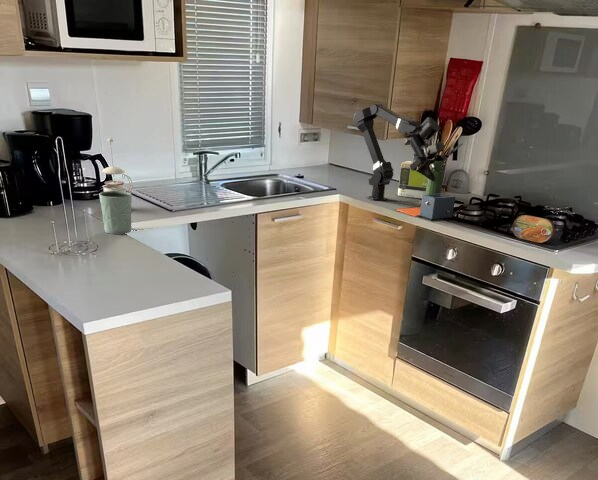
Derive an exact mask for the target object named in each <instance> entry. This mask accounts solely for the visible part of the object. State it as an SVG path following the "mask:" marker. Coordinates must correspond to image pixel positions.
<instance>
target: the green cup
mask: <svg viewBox="0 0 598 480" xmlns="http://www.w3.org/2000/svg"><path fill="white" fill-rule="evenodd" d="M98 197H99V201H100V208H101V213H102V222H103V228H104V232H105V233H107V234H112V235H125V234H128V233H131V232H132V202H133V200H132V199H133V194H132V192H130V193H129V191H126V192H122V191H106V192H105V191H101V192H100V193H99V194H98Z"/></svg>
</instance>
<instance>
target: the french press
mask: <svg viewBox="0 0 598 480" xmlns="http://www.w3.org/2000/svg"><path fill="white" fill-rule="evenodd" d="M108 142H109V143H110V145H112V143H114V139H113V138H112V137H109V138H108V139H107V143H108ZM112 149H113V148H110V154H111V155H113V150H112ZM113 159H114V158H111V164H112V166H107V167H105V168H103V169H102V170H101V173H103V174H105V175H113V176H115V175H121V177H122V179H124V180H125V179H126V178H127V180H128V182H129V184H130V186H129V187H128V190H127V188H126V186H124V185H125V182H124V181H121V180H108V181H107V180H106V181H104V184H105V185H104V186H103V190H104V191H103V192H106V191H122V192H128V193H132V190H133V187H131V186H133V181H132V179H131V177H130V176H128V175H127V174H125V172H126V171H125V170H124V169H122V168H121V167H118V166H115V165H114V161H113Z"/></svg>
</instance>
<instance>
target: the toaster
mask: <svg viewBox="0 0 598 480" xmlns="http://www.w3.org/2000/svg"><path fill="white" fill-rule="evenodd" d="M455 202H456V196H455V195H451V194H448V193H444V192H441V193H439V194H427V195H422V199H421V203H420V207H421V209H420V215H419V216H418V217H419V218H422V219H424V220H427V221H430V222H434V221H441V220H442V221H443V220H452V219H454V217H453V213H454V208H455Z"/></svg>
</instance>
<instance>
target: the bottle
mask: <svg viewBox="0 0 598 480" xmlns="http://www.w3.org/2000/svg"><path fill="white" fill-rule="evenodd" d="M441 166H442V167H443V163H442V162H441V161H435V162H434V168H433V169H431V172H432V174H433V176H434V179H435V180H434V181H431V180H430V179H428V181H427V187H426V193H425V195H427V194H439V193H442V189H443V182H444V179H443V178H445V170H443V169H442V170H441Z"/></svg>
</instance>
